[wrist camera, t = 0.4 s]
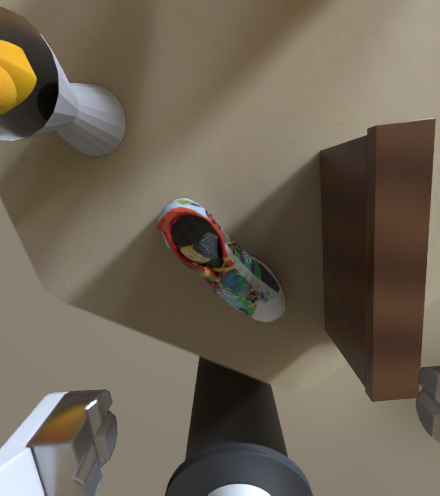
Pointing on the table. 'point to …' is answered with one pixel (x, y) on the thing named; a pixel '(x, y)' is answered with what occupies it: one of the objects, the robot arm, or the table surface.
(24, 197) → the table surface
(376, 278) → the wooden wall shelf
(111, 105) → the lava lamp
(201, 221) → the sneaker
